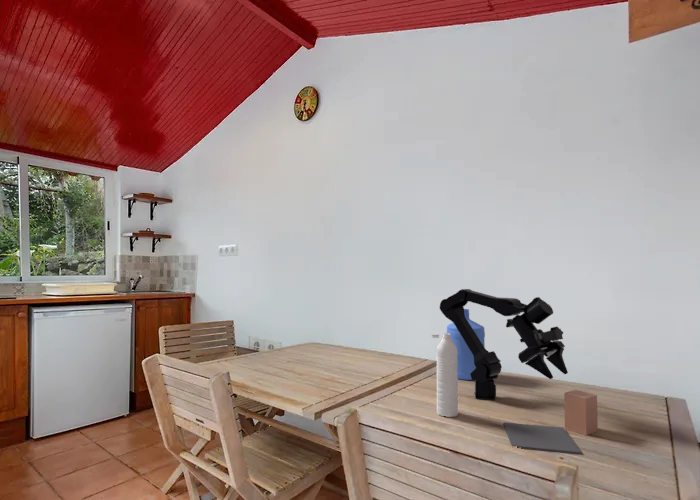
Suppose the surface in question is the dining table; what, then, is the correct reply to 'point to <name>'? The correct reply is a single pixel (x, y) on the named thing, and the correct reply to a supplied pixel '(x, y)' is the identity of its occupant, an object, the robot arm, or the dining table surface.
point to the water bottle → (447, 376)
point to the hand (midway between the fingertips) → (559, 376)
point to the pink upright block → (581, 412)
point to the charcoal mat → (540, 438)
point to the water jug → (465, 347)
